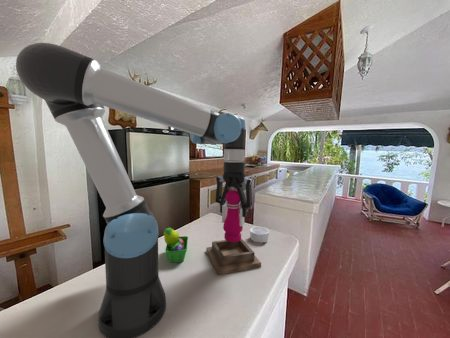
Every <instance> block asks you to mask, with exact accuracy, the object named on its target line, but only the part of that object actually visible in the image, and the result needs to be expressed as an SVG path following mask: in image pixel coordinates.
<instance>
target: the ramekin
mask: <svg viewBox="0 0 450 338" xmlns="http://www.w3.org/2000/svg"><path fill="white" fill-rule="evenodd" d="M249 232H250V239H251V241H253V242H254V243H258V242H259V244H261V243H263V242H264V243H266V242H268V240H269V233H270V230H269V229H268V228H267V227H264V226H252V227H251V228H249Z"/></svg>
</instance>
